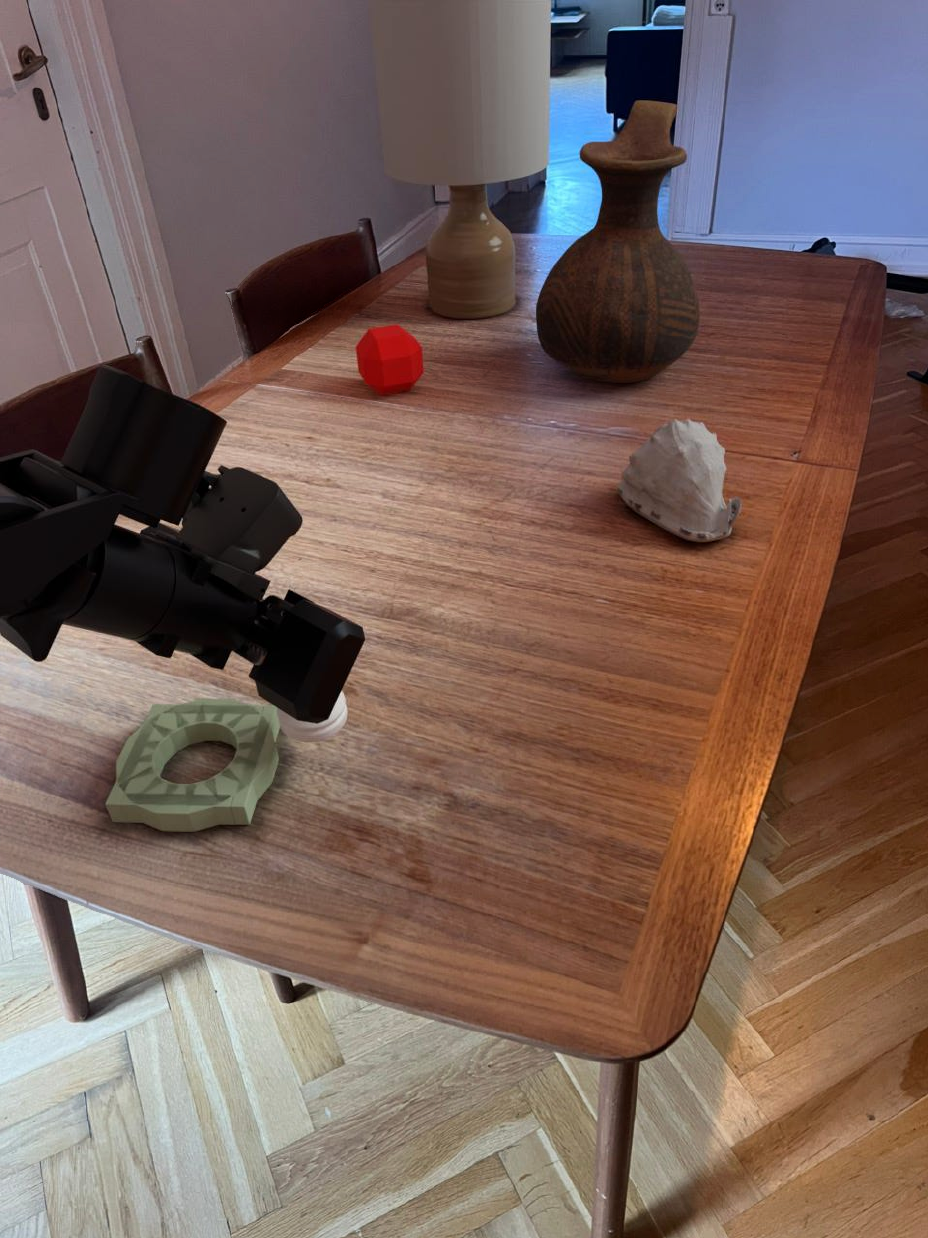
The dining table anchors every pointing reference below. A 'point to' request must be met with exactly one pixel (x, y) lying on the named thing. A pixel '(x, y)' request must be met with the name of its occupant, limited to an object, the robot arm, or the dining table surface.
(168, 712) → the pad
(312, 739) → the chess pawn
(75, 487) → the robot arm
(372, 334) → the ball
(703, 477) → the seashell
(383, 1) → the lamp
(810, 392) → the dining table surface
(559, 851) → the dining table surface
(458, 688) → the dining table surface
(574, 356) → the jug
